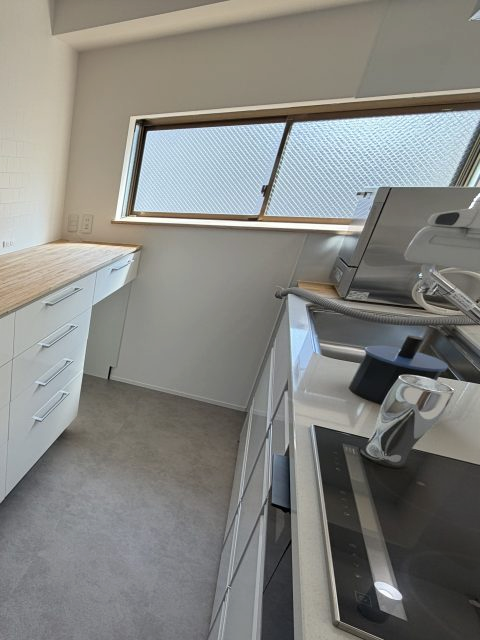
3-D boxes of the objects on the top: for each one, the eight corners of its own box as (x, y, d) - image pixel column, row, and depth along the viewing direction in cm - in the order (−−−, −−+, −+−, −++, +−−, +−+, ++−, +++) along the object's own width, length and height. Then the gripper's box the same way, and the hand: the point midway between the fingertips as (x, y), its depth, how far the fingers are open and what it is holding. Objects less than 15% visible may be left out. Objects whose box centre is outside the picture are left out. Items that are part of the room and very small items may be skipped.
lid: (456, 368, 90) (471, 343, 87) (429, 378, 84) (445, 352, 82) (379, 347, 100) (391, 324, 98) (351, 354, 95) (363, 331, 92)
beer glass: (416, 465, 72) (466, 389, 65) (394, 473, 70) (443, 395, 63) (369, 443, 78) (411, 371, 71) (347, 450, 75) (388, 376, 69)
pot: (429, 403, 94) (453, 365, 90) (405, 413, 89) (428, 374, 85) (364, 380, 104) (382, 345, 100) (338, 389, 99) (356, 352, 94)
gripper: (592, 226, 71) (538, 305, 77) (434, 214, 87) (400, 280, 93) (581, 226, 68) (526, 307, 74) (420, 214, 84) (386, 281, 91)
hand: (455, 292), depth 84 cm, fingers open, 8 cm apart
